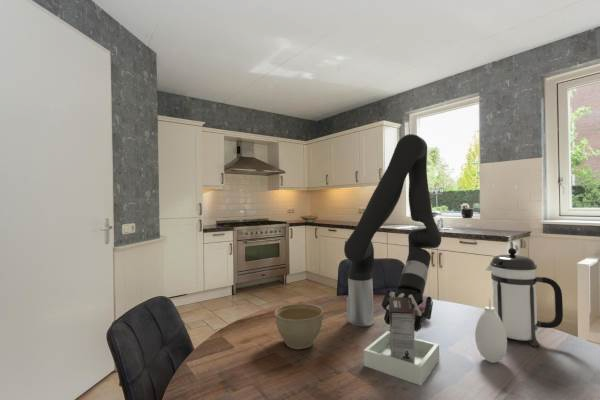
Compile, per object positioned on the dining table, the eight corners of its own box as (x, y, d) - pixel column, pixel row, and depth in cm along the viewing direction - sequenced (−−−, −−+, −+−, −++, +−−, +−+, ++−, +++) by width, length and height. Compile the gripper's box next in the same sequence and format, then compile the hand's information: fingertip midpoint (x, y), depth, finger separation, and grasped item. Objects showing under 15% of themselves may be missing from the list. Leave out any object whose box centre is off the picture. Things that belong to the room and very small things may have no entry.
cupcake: (406, 319, 122) (405, 294, 122) (408, 312, 130) (407, 288, 130) (431, 322, 118) (430, 296, 118) (431, 314, 126) (430, 290, 126)
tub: (364, 365, 89) (363, 349, 89) (387, 344, 101) (387, 331, 101) (421, 385, 78) (420, 367, 78) (439, 359, 91) (438, 344, 91)
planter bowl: (333, 341, 104) (332, 309, 104) (300, 360, 93) (299, 324, 93) (298, 329, 115) (297, 300, 115) (265, 344, 104) (264, 312, 104)
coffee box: (389, 345, 95) (388, 295, 93) (411, 347, 93) (411, 296, 91) (391, 365, 86) (390, 310, 84) (415, 367, 84) (415, 312, 82)
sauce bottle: (509, 370, 84) (507, 304, 84) (476, 364, 88) (474, 300, 88) (506, 357, 91) (504, 296, 91) (475, 352, 95) (473, 293, 95)
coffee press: (519, 353, 93) (516, 253, 94) (478, 331, 109) (476, 246, 109) (565, 345, 97) (562, 250, 97) (519, 326, 113) (517, 243, 113)
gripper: (388, 269, 101) (373, 315, 92) (434, 274, 92) (422, 326, 83) (395, 281, 105) (381, 327, 96) (440, 288, 96) (429, 339, 87)
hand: (400, 326), depth 90 cm, fingers closed on coffee box, 8 cm apart
